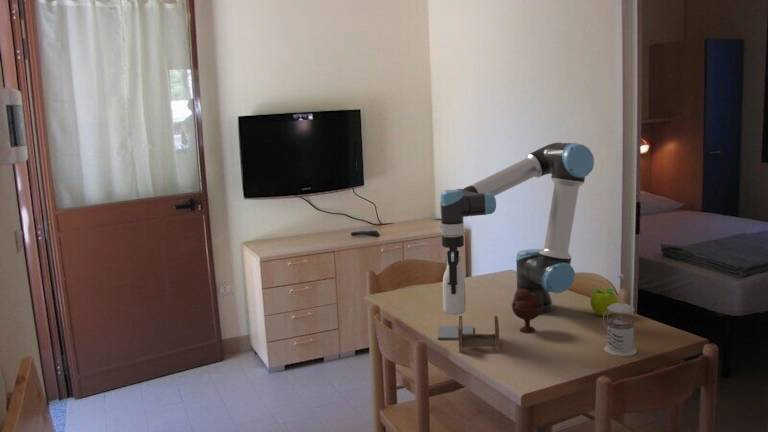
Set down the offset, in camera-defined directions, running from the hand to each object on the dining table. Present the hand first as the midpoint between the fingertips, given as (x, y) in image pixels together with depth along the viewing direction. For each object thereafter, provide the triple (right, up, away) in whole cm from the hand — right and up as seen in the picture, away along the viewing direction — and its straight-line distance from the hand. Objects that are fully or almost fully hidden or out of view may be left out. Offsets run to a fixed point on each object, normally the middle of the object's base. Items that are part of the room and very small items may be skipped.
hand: (454, 298), depth 222 cm
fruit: (+57, -8, +14) cm, 59 cm away
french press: (+50, -14, -19) cm, 56 cm away
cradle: (+7, -14, -10) cm, 19 cm away
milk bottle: (0, -5, +1) cm, 5 cm away
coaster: (+1, -13, +2) cm, 13 cm away
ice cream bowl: (+26, -12, +1) cm, 28 cm away
